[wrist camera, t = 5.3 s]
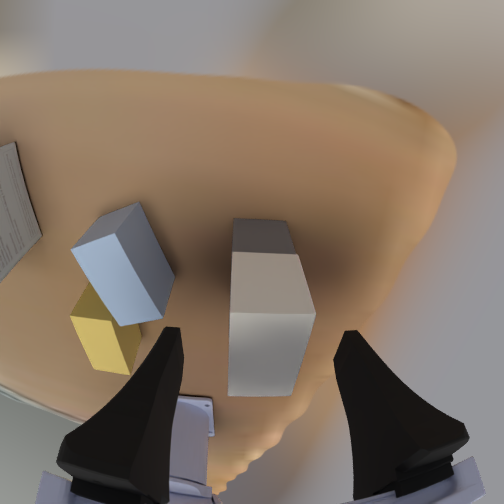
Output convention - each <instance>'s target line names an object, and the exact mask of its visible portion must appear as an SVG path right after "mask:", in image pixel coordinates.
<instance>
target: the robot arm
mask: <svg viewBox="0 0 504 504" xmlns="http://www.w3.org/2000/svg"><path fill="white" fill-rule="evenodd" d="M333 361H334V368H335V374H336V379H337V384H338V387H339V391H340V394H341V398H342V401H343V405H344V408H345V412H346V415H347V420H348V424H349V430H350V437H351V446H352V456H353V474H354V487H353V488H354V489H353V499H354V501H352V502H347V503H342V504H471V503H473V502H474V501H476V500H478V499H479V498H481V497H482V496H484V495H485V494H486V493H485V489H484V486H483V483H482V480H481V477H480V474H479V471H478V468H477V465H476V462H475V459H474V457H473V456H472V457H470V458H468V459H466V460H464V461H462V462H459V463H458V464H456V465H454V466H451V462H452V461H453V456H452V454H453V453H454V452H456V451H457V450H458V449H460V448H461V447H462V446H464V445H465V444H466V443H467V442H468V440H469V435H468V432H467V430H466V428H465V425H464V423H462V422H460V421H458V420H456V419H454V418H452V417H450V416H448V415H446V414H445V413H443V412H441V411H440V410H438V409H436V408H435V407H433V406H432V405H430V404H429V403H427V402H426V401H425V400H423V399H422V398H421V397H419V396H418V395H417V394H416V393H414V392H413V391H412V390H411V389H410V388H409V387H408V386H407V385H405V384H404V383H403V382H402V381H401V380H400V379H399V378H398V377H397V376H396V375H395V374H394V373H393V372H392V371H391V370H390V368H388V367H387V365H386V364H385V363H384V362H383V361H382V359H381V358H380V357H379V356H378V355H377V354H376V352H375V351H374V350H373V349H372V348H371V347H370V345H369V344H368V343H367V342H366V340H365V339H364V338H363V337H362V336H361V334H360V333H359V332H358V331H357V330H350V331H345V332H344V334H343V337H342V339H341V342H340V344H339V347H338V349H337V352H336V354H335V357H334V359H333ZM183 364H184V354H183V347H182V339H181V332H180V328H177V327H165V328H164V329H163V331H162V333H161V335H160V336H159V338H158V340H157V341H156V343H155V345H154V346H153V348H152V349H151V351H150V352H149V354H148V355H147V357H146V358H145V360H144V361H143V363H142V364H141V366H140V367H139V368H138V369H137V371H136V372H135V373H134V375H133V376H132V377H131V379H130V380H129V381H128V382H127V383H126V385H125V386H124V387H123V388H122V389H121V390H120V391H119V392H118V393H117V394H116V395H115V396H114V397H113V398H112V399H111V400H110V401H109V402H108V403H107V404H106V405H105V406H104V407H103V408H102V409H101V410H100V411H98V412H97V413H96V414H95V415H94V416H92V417H91V418H90V419H89V420H87V421H86V422H85V423H83V424H82V425H81V426H79V427H78V428H76V429H75V430H73V431H72V432H70V433H69V434H67V435H66V436H65V437H64V440H63V442H62V444H61V446H60V450H59V453H58V457H57V460H56V462H57V464H58V466H59V467H60V468H62V469H63V470H64V471H66V472H67V473H69V474H70V475H71V476H73V480H72V482H71V481H69V480H66V479H64V478H61V477H59V476H56V475H54V474H51V473H49V472H46V471H43V472H42V477H41V480H40V484H39V489H38V493H37V498H36V503H35V504H223V503H222V502H221V500H220V499H219V498H218V496H217V495H215V494H212V487H209V486H206V481H207V456H208V436H214V435H215V431H214V418H213V404H212V400H211V399H210V398H202V397H189V396H178V395H179V390H180V386H181V381H182V374H183Z"/></svg>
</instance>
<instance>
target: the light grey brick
mask: <svg viewBox="0 0 504 504" xmlns="http://www.w3.org/2000/svg"><path fill="white" fill-rule="evenodd" d="M315 316H316V312H315V308H314V305H313V301H312V298H311V295H310V291H309V288H308V285H307V281H306V278H305V275H304V272H303V268H302V265H301V262H300V259H299V256H298V254H275V253H252V252H232V271H231V298H230V327H229V364H228V396H291V394H292V391H293V388H294V385H295V382H296V379H297V376H298V373H299V370H300V367H301V363H302V360H303V357H304V354H305V351H306V347H307V344H308V341H309V337H310V334H311V330H312V327H313V324H314V320H315Z"/></svg>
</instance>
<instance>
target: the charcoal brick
mask: <svg viewBox="0 0 504 504" xmlns="http://www.w3.org/2000/svg"><path fill="white" fill-rule="evenodd" d="M232 252H252V253H275V254H296V252H295V249H294V246H293V242H292V239H291V236H290V233H289V229H288V226H287V223H286V221H278V220H261V219H241V218H234V221H233V240H232ZM231 271H232V262H231ZM230 298H231V287H230ZM229 327H230V315H229Z"/></svg>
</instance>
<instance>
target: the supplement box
mask: <svg viewBox="0 0 504 504" xmlns="http://www.w3.org/2000/svg"><path fill="white" fill-rule="evenodd" d="M41 237H42V234H41V231H40V229H39V226H38V224H37V221H36V218H35V215H34V212H33V209H32V206H31V203H30V200H29V196H28V193H27V190H26V186H25V183H24V179H23V175H22V171H21V167H20V163H19V159H18V155H17V151H16V145H15V142H12V143H9V144H7V145H4V146H2V147H0V283H1V281H2V280H3V279H4V278H5V277H6V276H7V274H8V273H9V272H10V271H11V270H12V269H13V267H14V266H15V265H16V264H17V263H18V262H19V261H20V260H21V258H22V257H23V256H24V255H25V254H26V253H27V251H28V250H29V249H30V248H31V247H32V246H33V245H34V244H35V243H36V242H37V241H38V240H39V239H40V238H41Z"/></svg>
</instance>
